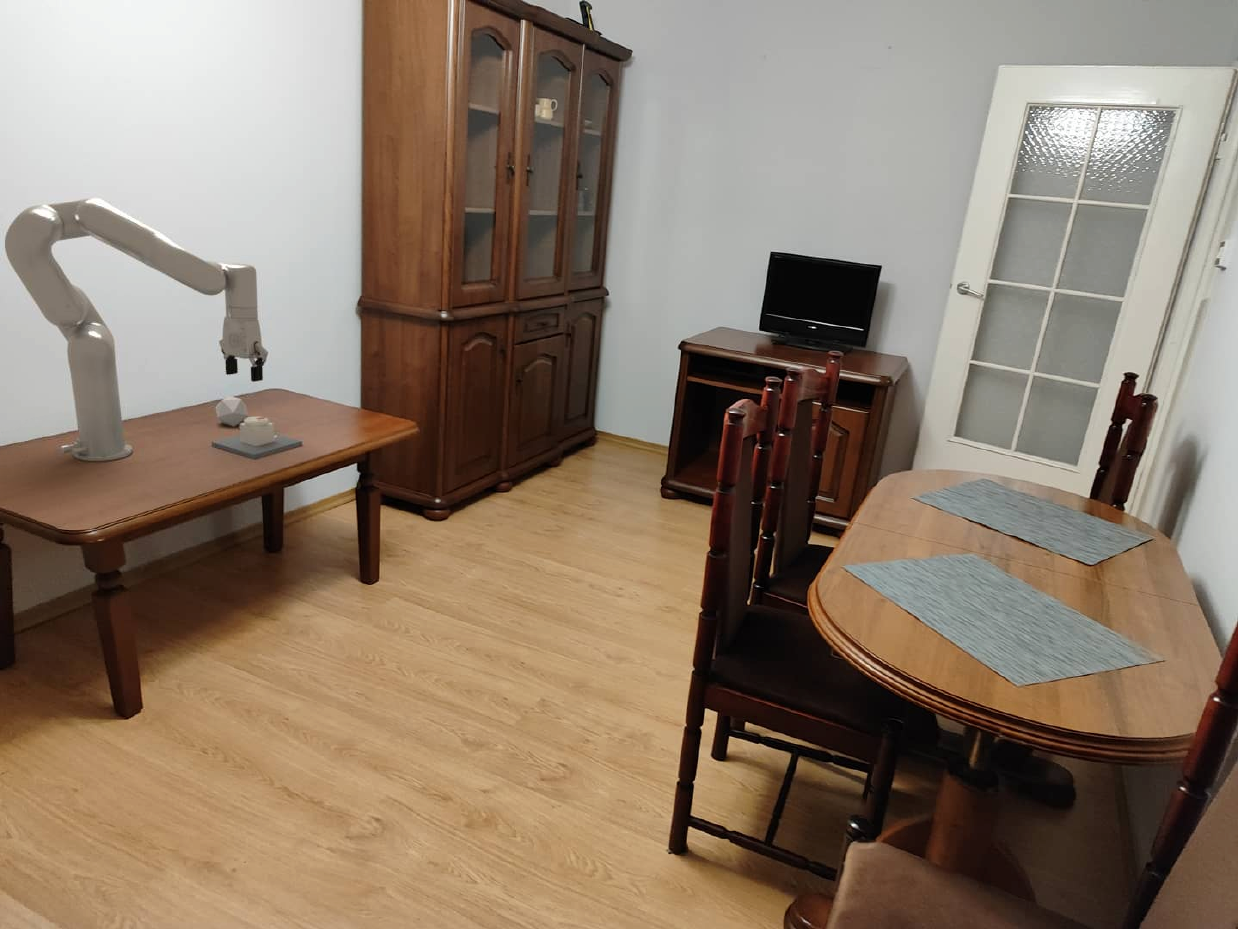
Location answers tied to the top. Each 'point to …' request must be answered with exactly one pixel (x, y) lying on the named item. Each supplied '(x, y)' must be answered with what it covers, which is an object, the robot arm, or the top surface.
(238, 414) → the die
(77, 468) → the top surface
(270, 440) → the white stepped block
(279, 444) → the grey square peg base
